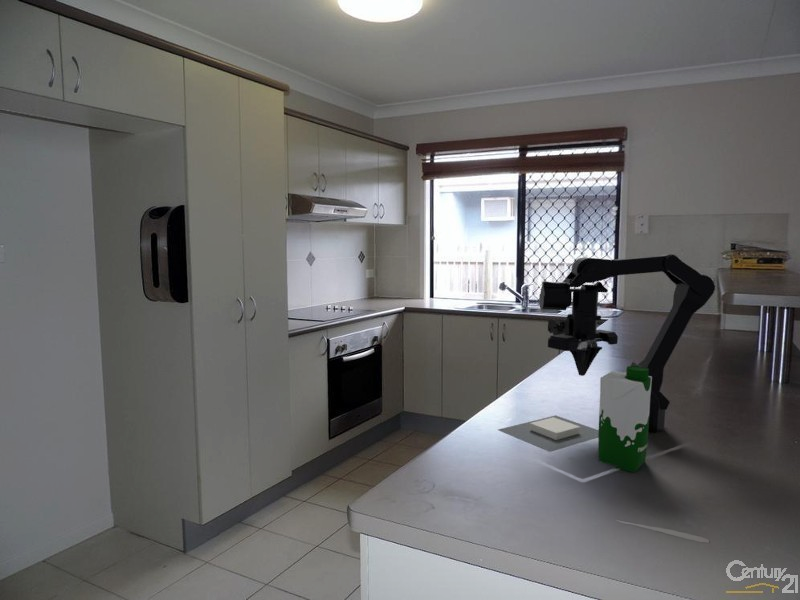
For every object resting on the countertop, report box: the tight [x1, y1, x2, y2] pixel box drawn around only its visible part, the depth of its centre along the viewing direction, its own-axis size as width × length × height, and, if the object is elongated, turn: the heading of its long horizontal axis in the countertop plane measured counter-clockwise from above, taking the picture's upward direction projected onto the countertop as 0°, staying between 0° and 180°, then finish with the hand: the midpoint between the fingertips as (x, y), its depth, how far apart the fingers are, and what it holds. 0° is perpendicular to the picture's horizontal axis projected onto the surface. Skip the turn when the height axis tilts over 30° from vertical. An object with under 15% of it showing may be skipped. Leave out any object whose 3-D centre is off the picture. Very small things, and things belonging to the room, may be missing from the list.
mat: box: [497, 415, 599, 453], centre depth 128 cm, size 16×20×1 cm
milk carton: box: [597, 365, 652, 473], centre depth 111 cm, size 9×9×20 cm
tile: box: [530, 417, 580, 440], centre depth 128 cm, size 8×2×8 cm
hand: (581, 375), depth 132 cm, fingers closed
